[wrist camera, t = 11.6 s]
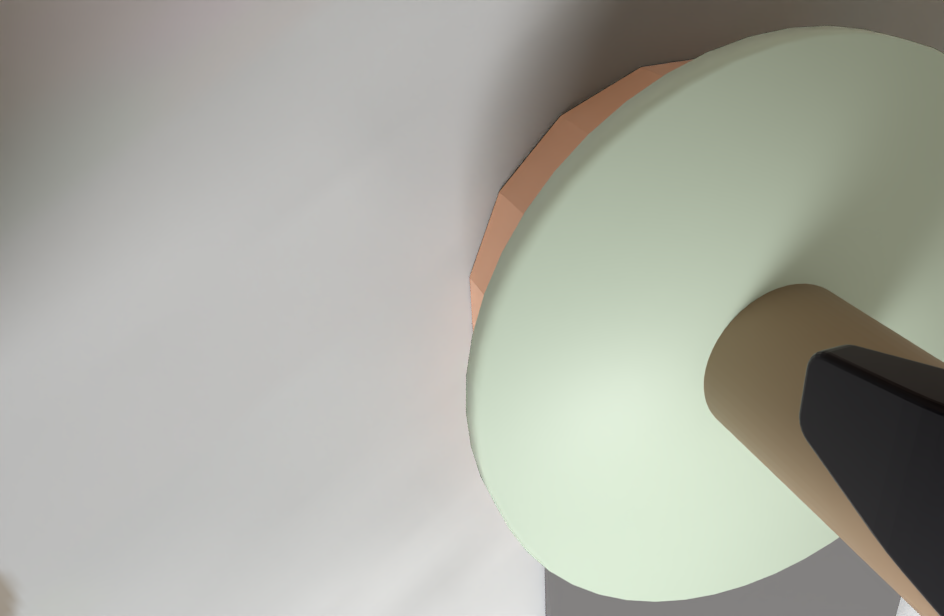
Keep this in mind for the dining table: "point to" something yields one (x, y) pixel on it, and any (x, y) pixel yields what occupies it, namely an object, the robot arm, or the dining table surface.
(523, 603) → the dining table surface
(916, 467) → the robot arm
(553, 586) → the mat
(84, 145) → the dining table surface
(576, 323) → the peg stand
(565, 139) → the bowl
